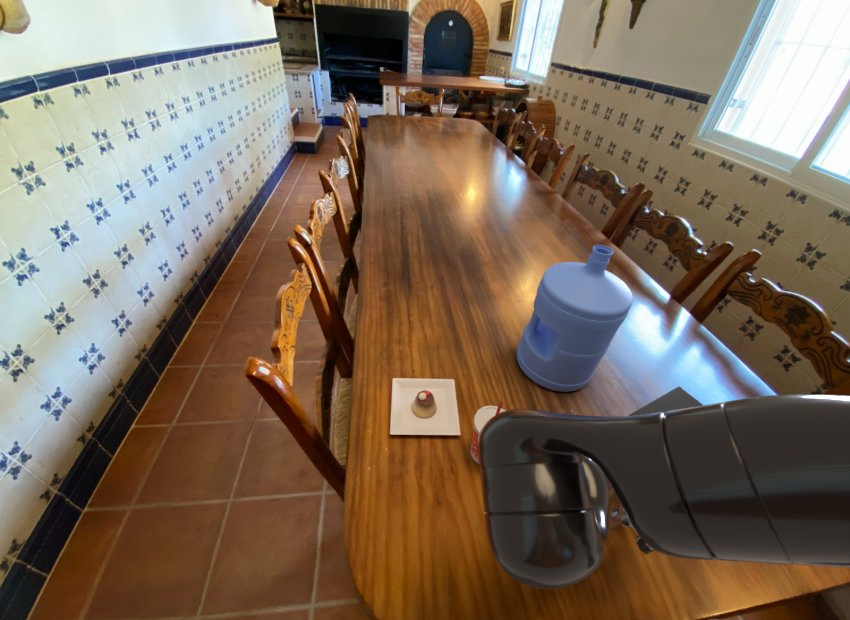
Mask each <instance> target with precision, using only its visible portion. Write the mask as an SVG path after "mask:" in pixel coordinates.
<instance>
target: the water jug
mask: <svg viewBox="0 0 850 620" xmlns="http://www.w3.org/2000/svg"><path fill="white" fill-rule="evenodd" d="M613 254H614V250H613V249H612V248H611V247H609V246H606V245H603V244H595V245H593V246H592V251H591V253H590V254H589V255H588V258H587V262H586V263H585V262H577V261H564V262H559V263H555V264H552V265H550V266H549V267H548V268H547V269H545V271H544V272H543V274H542V277H541V279H540V281H539V284H538V286H537V289H536V294H535V298H534V301H533V311H532V314H531V317H530V320H529V322H528V323H527V324H526V325H525V327H524V330H523V333H522V336H521V339H520V340H519V343H518V345H517V348H516V360H517V363H518V366H519V368H520V369H521V371H522V372H523V373H524V374H525V376H527V377H528V378H529V379H530V380H531V381H532V382H533V383H535V384H537V385H539V386H541V387H543V388H545V389H547V390H550V391H555V392H563V393H567V392H569V393H570V392H574V391H578V390H581V389H582V388H584V387H585V386H587V385H588V384H589V383H590V382H591V379H592V378H593V376H594V373H595V371H596V369H597V367H598V365H599V363H600V362H601V360H602V359H603V357H604V356H605V355H606V353H607V351H608V349H609V348H610V345H611V343H612V341H613V339H614V337H615V335H616V334H617V332H618V330H619V329H620V327H621V325H622V324H623V323H624V322H625V320H626V319H627V317H628V315H629V312H630V309H631V307H632V306H633V302H634V298H633V293H632V291H631V288H629V286H628V285H627V284H626V282H624V281H623V280H622V279H621V278H619V277H618V276H617V275H616V274H614V273H612V272H610V271H608V270H607V269H606V268H607V266H608V265H609V263H610V258H611V257H612V256H613Z"/></svg>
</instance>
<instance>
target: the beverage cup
mask: <svg viewBox="0 0 850 620" xmlns="http://www.w3.org/2000/svg"><path fill="white" fill-rule="evenodd" d="M503 404H504V402H503V401H499V402H498V405H497V406H496V405H485V406H482V407H480V408H478V409H477V412H476V413H475V415H474V418H473V433H472V438H471V444H470V456H471V458H472V459H473V461H474V462H475V463H477V464H478V465H479V459H478V448H477V446H478V436H479V433H480V431H481V429H482V428H483V426H484V425H485V424H486V423H487V422H488V421H489V420H490V419H491V418H492V417H494V416H495V415H497V414H499V413H501V412H504V411H507V410H505V409H504V408H502V407H503Z"/></svg>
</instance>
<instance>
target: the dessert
mask: <svg viewBox="0 0 850 620" xmlns="http://www.w3.org/2000/svg"><path fill="white" fill-rule="evenodd" d="M389 423H390V425H389V435H391V436H392V435H398V436H399V435H401V436H403V435H408V436H409V435H411V436H416V435H417V436H461V434H462V433H461V426H460V416H459V409H458V401H457V392H456V383H455V379H454V378H414V377H413V378H412V377H411V378H410V377H409V378H408V377H393V378H392V383H391V403H390V422H389Z"/></svg>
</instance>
